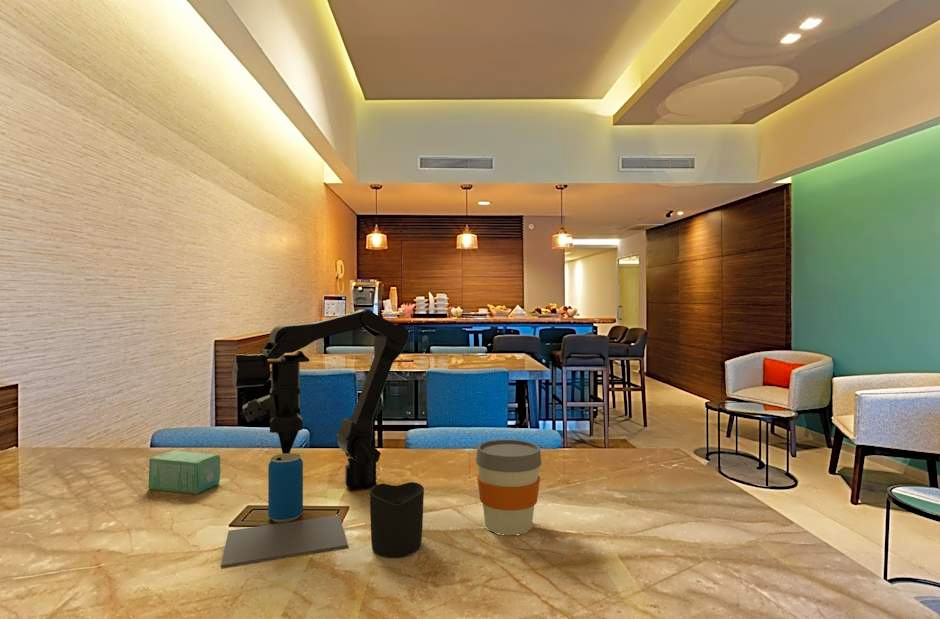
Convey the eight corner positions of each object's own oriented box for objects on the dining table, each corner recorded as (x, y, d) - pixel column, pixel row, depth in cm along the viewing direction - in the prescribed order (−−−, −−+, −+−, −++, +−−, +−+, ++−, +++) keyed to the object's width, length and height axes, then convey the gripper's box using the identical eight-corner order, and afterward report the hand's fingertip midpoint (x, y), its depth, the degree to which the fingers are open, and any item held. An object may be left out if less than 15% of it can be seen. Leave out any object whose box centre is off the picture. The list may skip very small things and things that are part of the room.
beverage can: (274, 511, 103) (274, 452, 103) (306, 510, 104) (306, 452, 104) (263, 524, 97) (263, 462, 97) (298, 523, 97) (298, 461, 97)
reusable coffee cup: (496, 546, 88) (497, 460, 88) (464, 519, 99) (464, 443, 99) (554, 531, 94) (554, 451, 94) (518, 508, 105) (518, 436, 105)
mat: (339, 517, 100) (339, 515, 100) (348, 547, 88) (348, 544, 88) (228, 532, 93) (228, 530, 93) (220, 567, 80) (220, 565, 80)
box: (198, 495, 112) (198, 461, 112) (147, 490, 115) (147, 458, 115) (221, 484, 119) (221, 452, 119) (173, 480, 122) (173, 449, 122)
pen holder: (400, 565, 81) (400, 503, 81) (357, 550, 86) (358, 492, 86) (434, 542, 89) (434, 486, 89) (393, 530, 94) (394, 477, 94)
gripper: (247, 379, 114) (247, 448, 114) (241, 392, 97) (242, 473, 97) (299, 377, 118) (299, 443, 118) (302, 389, 101) (302, 466, 101)
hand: (285, 455), depth 109 cm, fingers closed
